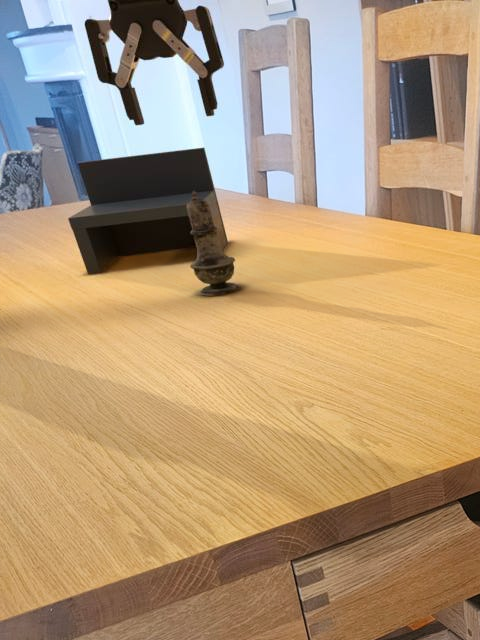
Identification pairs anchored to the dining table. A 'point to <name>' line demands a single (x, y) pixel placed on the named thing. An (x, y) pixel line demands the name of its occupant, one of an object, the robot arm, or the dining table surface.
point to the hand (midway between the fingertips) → (175, 120)
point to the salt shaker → (209, 251)
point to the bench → (142, 205)
